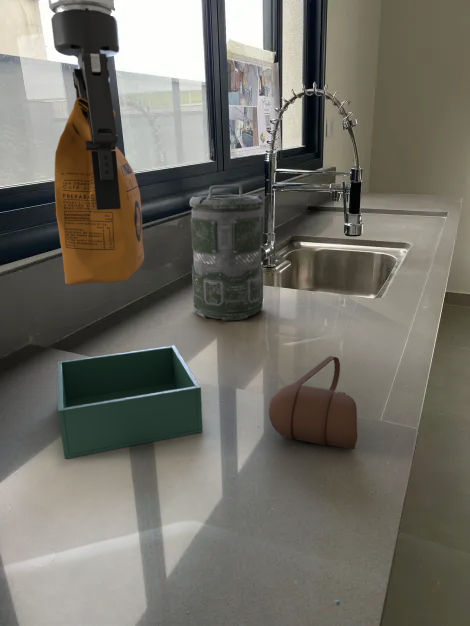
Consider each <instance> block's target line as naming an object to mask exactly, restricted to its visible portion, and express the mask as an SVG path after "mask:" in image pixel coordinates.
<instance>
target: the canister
mask: <svg viewBox="0 0 470 626" xmlns="http://www.w3.org/2000/svg"><path fill="white" fill-rule="evenodd" d="M215 189H238V194H233V193H232V192H226V193H225V192H224V193H221V192H220V193H213V190H215ZM263 205H264V199H263V198H262V196H260V195H259V194H256V193H255V194H254V193H247V194H243V186H242V185H241V184H217V185H211V186H210V187H209V189H208V195H200V196H196V197H195V196H192V197H191V198H190V200H189V206H190V208H191V218H190V232H191V234H190V235H191V248H192V254H193V255H192V257H193V264H191V277H192V299H193V301H192V302H193V310H194V312H195V313H196V314H197V315H198V316H200V317H202V318H205V319H207V318H211V319H217V320H222V321H223V322H230V321H231V322H232V321H233V322H234V321H241V320H247V319H248V318H249V317H251V316H253V315H255V314H257V313H259V312H260V311H261V310H262V309H263V306H264V304H263V302H264V269H263V265H262V246H263V244H264V240H263V239H264V216H263V214H262V206H263Z"/></svg>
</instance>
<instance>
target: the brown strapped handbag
mask: <svg viewBox="0 0 470 626" xmlns="http://www.w3.org/2000/svg"><path fill="white" fill-rule="evenodd" d="M332 361H333V363H334V369H333V378H332V381H331V385H330V387H329V389H328V388H322V387H316V386H311V385H310V386H309V385H304V384H305V383H306V382H307V381H309V379H311V378H312V377H313V376H315V375H316V374H317V373H318V372H320V371H321V370H322V369H323V368H325V367H326V366H327V365H328V364H330V362H332ZM340 373H341V363H340V359H339V357H337V356H333V355H330V356H328V357H326V358H325V359H324V360H322V361H321V362H320V363H318V364H317V365H316V366H315V367H313V368H312V369H311V370H310V371H309V372H307V373H305V374H304V375H303V376H302V377H300V378H299V379H298V380H297V381H296V382H292V383H290V384H287V385H284V386H283V387H282V388H280V389H278V390H277V391H276V392H275V394H274V395H273V396H272V397H271V399H270V402H269V405H268V417H269V421H270V423H271V425H272V427H273V429H274V430H275V431H276V432H277V433H278V434H280V436H282V437H285V438H287V439H289V440H293V441H294V440H298V441H303V442H307V443H312V444H316V445H317V444H318V445H322V446H327V445H330V446H334V447H339V448H343V449H349V450H355V448H356V446H357V445H356V444H357V441H358V411H357V404H356V401H355V399H354V398H352V397H351V396H350V395H348V394H346V392H342V391H336V389H337V386H338V383H339V379H340Z"/></svg>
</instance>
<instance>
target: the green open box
mask: <svg viewBox="0 0 470 626" xmlns="http://www.w3.org/2000/svg"><path fill="white" fill-rule="evenodd" d="M56 366H57V367H56V368H57V369H56V370H57V374H56V375H57V415H58V422H59V430H60V436H61V442H62V450H63V456H64V457H63V458H64V459H65V460H67V459H72V458H78V457H82V456H87V455H92V454H97V453H102V452H108V451H112V450H117V449H123V448H129V447H134V446H138V445H143V444H148V443H154V442H158V441H164V440H168V439H173V438H179V437H183V436H189V435H195V434H199V433H203V431H204V430H203V407H202V406H203V405H202V404H203V403H202V387H201V385H200V384H199V382H198V380H197V379H196V378H195V375H194V374H193V373H192V371H191V369H190V367H189V366H188V365H187V363H186V361H185V360H184V358H183V357H182V355H181V353H180V352H179V350H178V349H177V347H176V346H175V345H169V346H162V347H155V348H147V349H140V350H133V351H126V352H119V353H112V354H104V355H96V356H89V357H82V358H74V359H68V360H59V361H57V362H56Z"/></svg>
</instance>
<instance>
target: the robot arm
mask: <svg viewBox="0 0 470 626" xmlns="http://www.w3.org/2000/svg"><path fill="white" fill-rule="evenodd" d="M48 9H50V11H51V12H52V13H54V14H53V15H52V16H51V18H50V19H51V20H50V21H51V28H52V29H51V30H52V38H53V45H54V49H55V51H56V52H58V53H59V54H61V55H64V56H68V57H75V58H76V59H77V68H73V71H72V82H73V87H74V89H75V100H76V99H77V98H79V97H80V98H83V99H85V100H87V101H88V105H87V107H89V110H88V109H87V118H88V123H89V130H90V136H91V141H85V142H86V150H97V151H91V158H92V168H93V178H94V188H95V198H96V208H97V210H107V209H121V206H120V194H119V182H118V170H117V159H116V151H111V150H115V147H117V144H118V141H119V135H118V134H117V128H116V127H117V126H116V121H115V117H114V113H113V110H114V108H113V107H114V106H113V99H112V93H111V92H112V91H111V85H110V77H111V76H110V71H109V68H108V63H109V58H111V57H114V56H117V55H119V53H120V51H121V39H120V28H119V27H120V26H119V21H118V20H117V18H116V16H114V15H116V14H117V12H118V6H117V0H48Z"/></svg>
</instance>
